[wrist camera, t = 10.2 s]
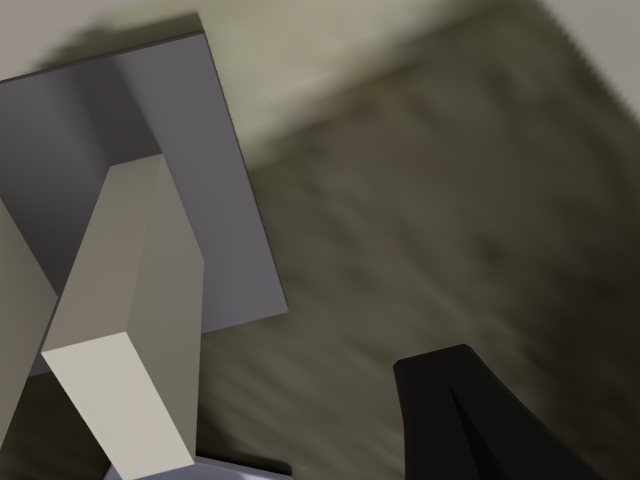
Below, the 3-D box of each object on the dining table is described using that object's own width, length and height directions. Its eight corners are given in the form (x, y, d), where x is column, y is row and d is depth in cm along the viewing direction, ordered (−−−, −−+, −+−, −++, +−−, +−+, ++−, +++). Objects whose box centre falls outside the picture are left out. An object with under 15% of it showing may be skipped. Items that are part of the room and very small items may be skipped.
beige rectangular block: (157, 272, 20) (124, 481, 13) (110, 166, 18) (40, 352, 11) (204, 260, 20) (194, 463, 13) (162, 153, 18) (125, 331, 11)
